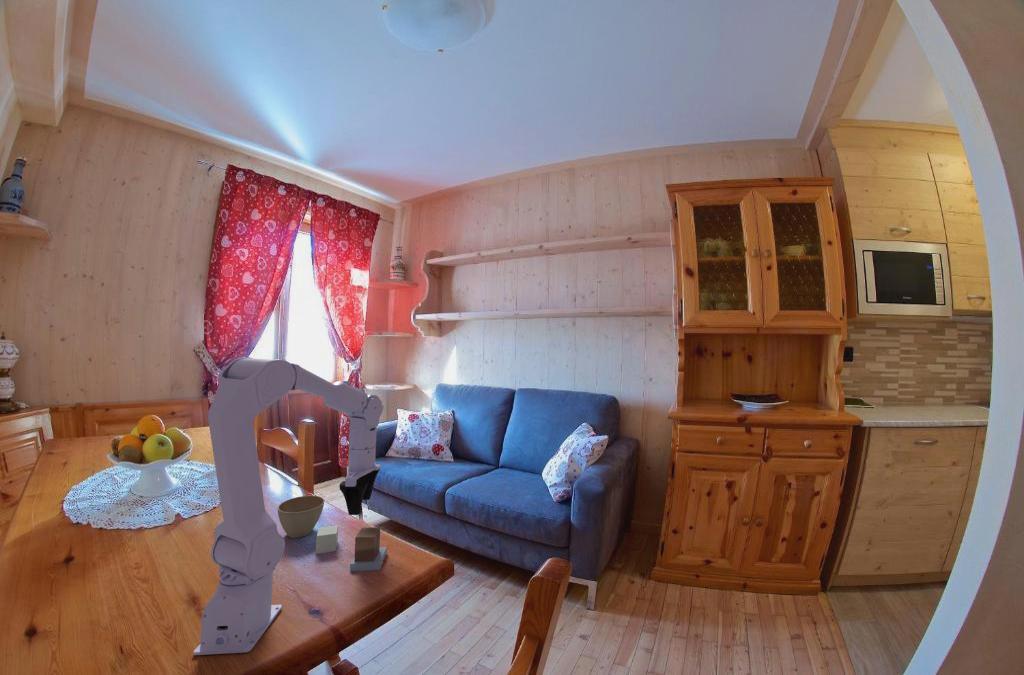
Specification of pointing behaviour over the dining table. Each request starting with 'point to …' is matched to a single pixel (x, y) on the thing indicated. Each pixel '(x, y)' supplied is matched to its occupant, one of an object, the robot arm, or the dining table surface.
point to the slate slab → (369, 562)
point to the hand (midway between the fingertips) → (359, 506)
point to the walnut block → (367, 544)
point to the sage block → (327, 539)
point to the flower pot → (300, 515)
